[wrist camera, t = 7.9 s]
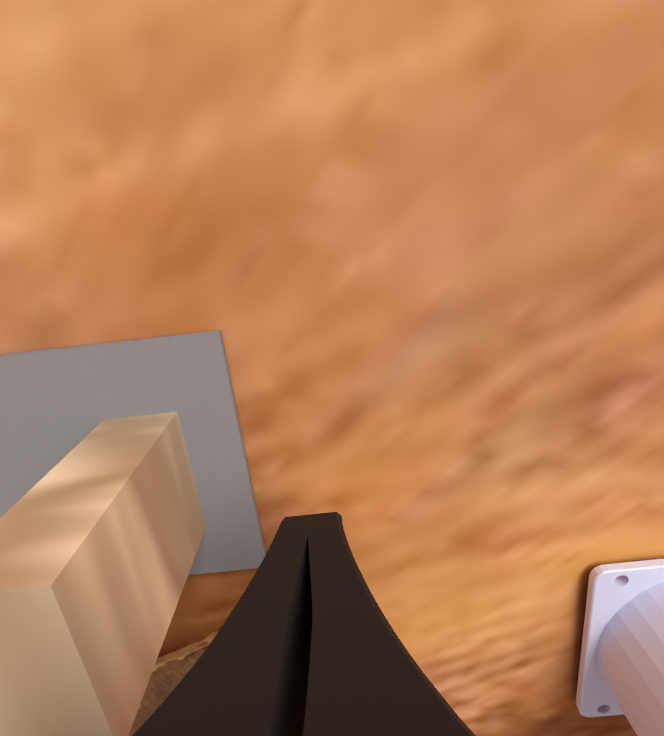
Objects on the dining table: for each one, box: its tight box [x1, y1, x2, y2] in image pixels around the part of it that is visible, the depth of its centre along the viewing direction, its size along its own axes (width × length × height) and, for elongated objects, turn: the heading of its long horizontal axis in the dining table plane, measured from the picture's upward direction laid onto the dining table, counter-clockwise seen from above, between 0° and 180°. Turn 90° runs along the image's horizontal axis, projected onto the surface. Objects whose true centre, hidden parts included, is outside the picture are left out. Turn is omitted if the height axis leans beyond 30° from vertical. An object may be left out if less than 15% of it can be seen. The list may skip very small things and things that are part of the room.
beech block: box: [0, 412, 206, 736], centre depth 12 cm, size 2×4×7 cm, turn 6°
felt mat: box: [0, 330, 266, 575], centre depth 15 cm, size 14×9×1 cm, turn 96°
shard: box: [129, 631, 219, 736], centre depth 19 cm, size 11×8×2 cm
